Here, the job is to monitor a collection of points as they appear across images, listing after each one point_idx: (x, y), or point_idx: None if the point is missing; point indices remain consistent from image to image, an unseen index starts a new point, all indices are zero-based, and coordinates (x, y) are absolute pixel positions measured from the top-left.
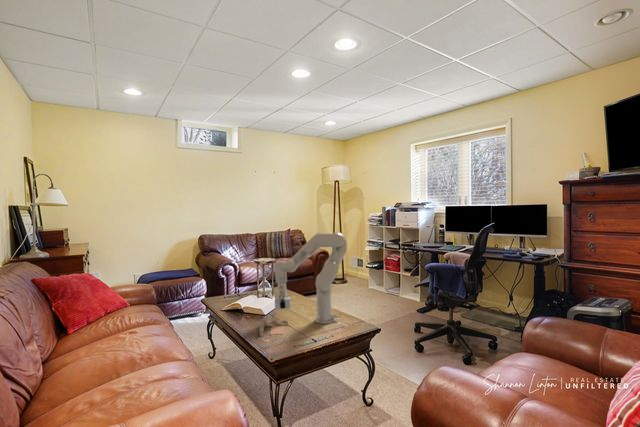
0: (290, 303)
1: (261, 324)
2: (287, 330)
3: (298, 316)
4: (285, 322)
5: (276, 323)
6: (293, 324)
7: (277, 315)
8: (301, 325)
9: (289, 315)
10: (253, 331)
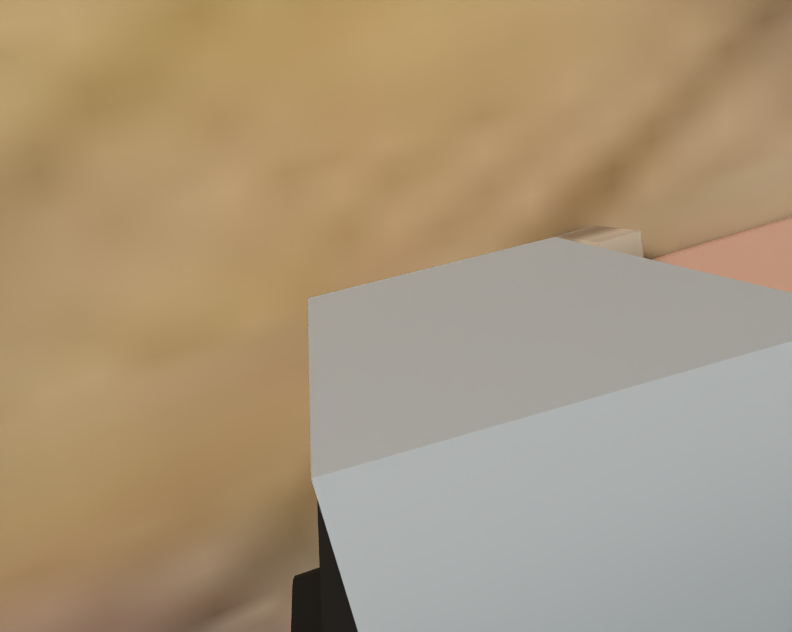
0: (460, 297)
1: None
2: (768, 168)
3: (117, 153)
4: None
5: None
6: (539, 139)
7: (162, 556)
8: None
9: (106, 353)
10: None
